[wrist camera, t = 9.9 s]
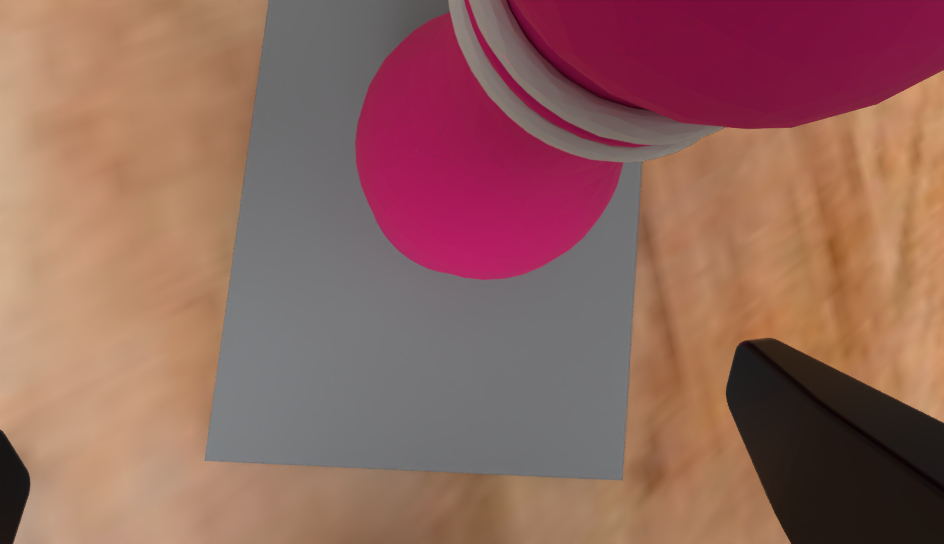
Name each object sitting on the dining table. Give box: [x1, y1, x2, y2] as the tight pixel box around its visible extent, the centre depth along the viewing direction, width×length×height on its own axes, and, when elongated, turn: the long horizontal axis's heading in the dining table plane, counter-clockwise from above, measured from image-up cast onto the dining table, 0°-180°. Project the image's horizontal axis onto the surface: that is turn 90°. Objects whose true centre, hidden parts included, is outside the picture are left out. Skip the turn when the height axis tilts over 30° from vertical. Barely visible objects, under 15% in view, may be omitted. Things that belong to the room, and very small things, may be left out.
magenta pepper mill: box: [355, 0, 944, 280], centre depth 11 cm, size 7×7×20 cm
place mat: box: [205, 0, 642, 480], centre depth 21 cm, size 20×14×1 cm
